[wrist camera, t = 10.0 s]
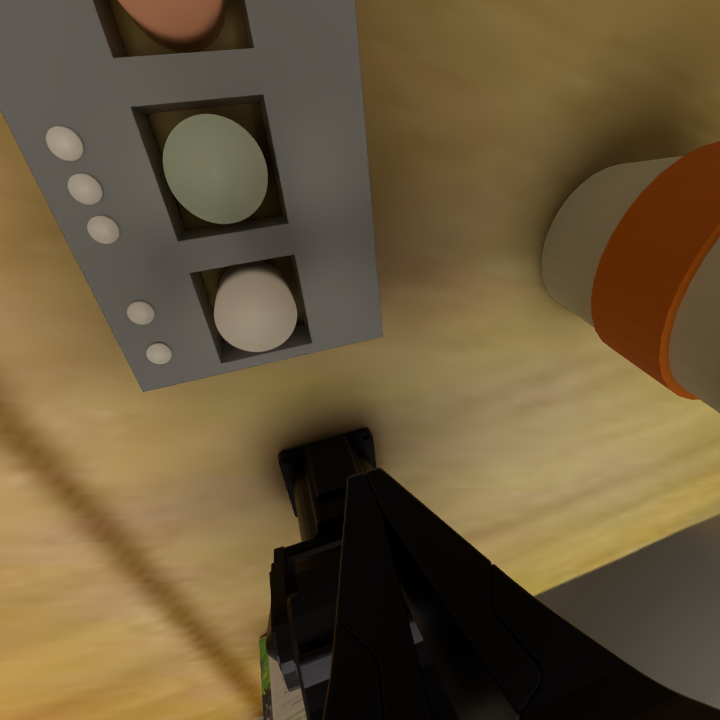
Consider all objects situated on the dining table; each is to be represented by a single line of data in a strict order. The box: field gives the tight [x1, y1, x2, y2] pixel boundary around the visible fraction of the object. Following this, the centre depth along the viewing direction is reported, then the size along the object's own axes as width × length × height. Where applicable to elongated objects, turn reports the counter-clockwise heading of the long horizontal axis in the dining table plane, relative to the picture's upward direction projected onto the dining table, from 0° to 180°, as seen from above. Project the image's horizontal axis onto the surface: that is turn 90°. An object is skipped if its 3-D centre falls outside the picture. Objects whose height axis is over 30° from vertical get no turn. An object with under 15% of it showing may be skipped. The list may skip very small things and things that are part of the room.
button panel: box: [0, 0, 383, 392], centre depth 15 cm, size 17×12×3 cm
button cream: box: [214, 261, 297, 352], centre depth 18 cm, size 4×4×3 cm
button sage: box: [163, 114, 268, 224], centre depth 15 cm, size 4×4×3 cm
